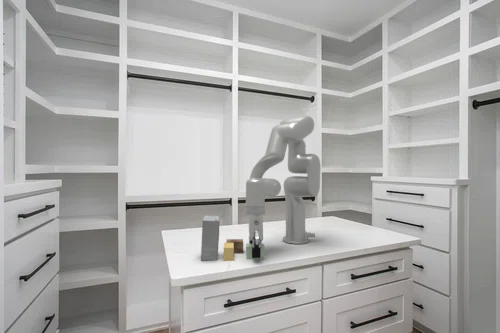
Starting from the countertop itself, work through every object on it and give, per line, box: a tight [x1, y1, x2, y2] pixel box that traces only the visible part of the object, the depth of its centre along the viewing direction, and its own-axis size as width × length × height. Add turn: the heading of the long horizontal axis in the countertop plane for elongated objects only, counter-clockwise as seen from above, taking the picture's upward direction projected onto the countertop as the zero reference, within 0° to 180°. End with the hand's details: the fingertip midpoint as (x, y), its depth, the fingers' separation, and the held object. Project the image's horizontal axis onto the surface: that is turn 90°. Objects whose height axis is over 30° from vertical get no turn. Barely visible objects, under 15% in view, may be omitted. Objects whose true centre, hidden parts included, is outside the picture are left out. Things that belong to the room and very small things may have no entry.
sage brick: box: [245, 243, 266, 260], centre depth 100 cm, size 7×4×5 cm, turn 94°
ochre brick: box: [223, 242, 235, 262], centre depth 100 cm, size 7×4×5 cm, turn 4°
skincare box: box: [200, 215, 221, 262], centre depth 100 cm, size 8×7×16 cm
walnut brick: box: [225, 238, 244, 255], centre depth 107 cm, size 7×4×5 cm, turn 94°
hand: (254, 253), depth 100 cm, fingers open, 9 cm apart
